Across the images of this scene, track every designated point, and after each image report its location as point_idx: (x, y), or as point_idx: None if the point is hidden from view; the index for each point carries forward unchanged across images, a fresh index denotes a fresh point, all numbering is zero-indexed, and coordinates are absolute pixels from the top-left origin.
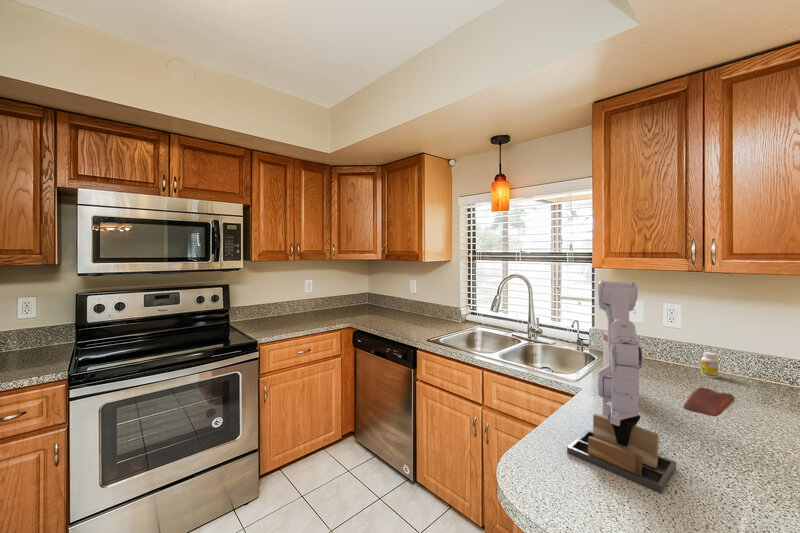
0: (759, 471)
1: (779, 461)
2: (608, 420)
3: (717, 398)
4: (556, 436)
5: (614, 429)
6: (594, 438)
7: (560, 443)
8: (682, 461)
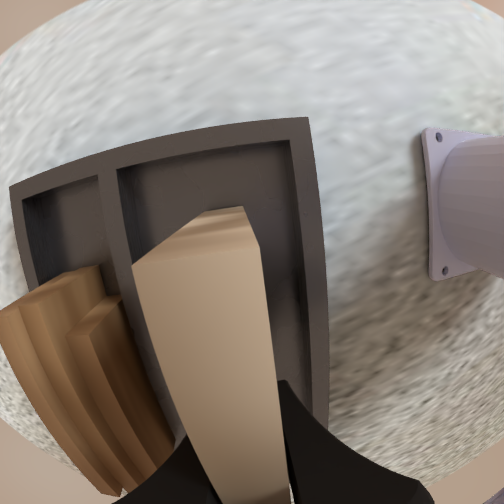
0: (437, 468)
1: (483, 447)
2: (202, 452)
3: None
4: (147, 38)
5: (169, 460)
6: (12, 350)
7: (96, 93)
8: (393, 430)
